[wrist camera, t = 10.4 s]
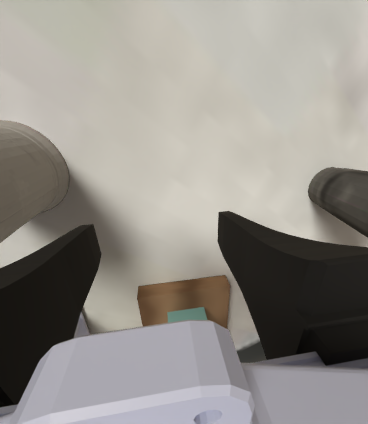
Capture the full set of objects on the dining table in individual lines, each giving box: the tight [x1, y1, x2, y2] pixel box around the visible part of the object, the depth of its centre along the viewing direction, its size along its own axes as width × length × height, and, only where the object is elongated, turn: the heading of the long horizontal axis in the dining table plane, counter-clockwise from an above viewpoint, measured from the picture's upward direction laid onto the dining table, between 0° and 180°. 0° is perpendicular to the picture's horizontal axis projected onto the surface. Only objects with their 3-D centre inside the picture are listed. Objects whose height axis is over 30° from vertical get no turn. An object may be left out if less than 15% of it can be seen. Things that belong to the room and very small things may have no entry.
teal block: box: [167, 307, 207, 323], centre depth 25 cm, size 5×5×6 cm
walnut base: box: [137, 275, 230, 329], centre depth 28 cm, size 12×12×2 cm
